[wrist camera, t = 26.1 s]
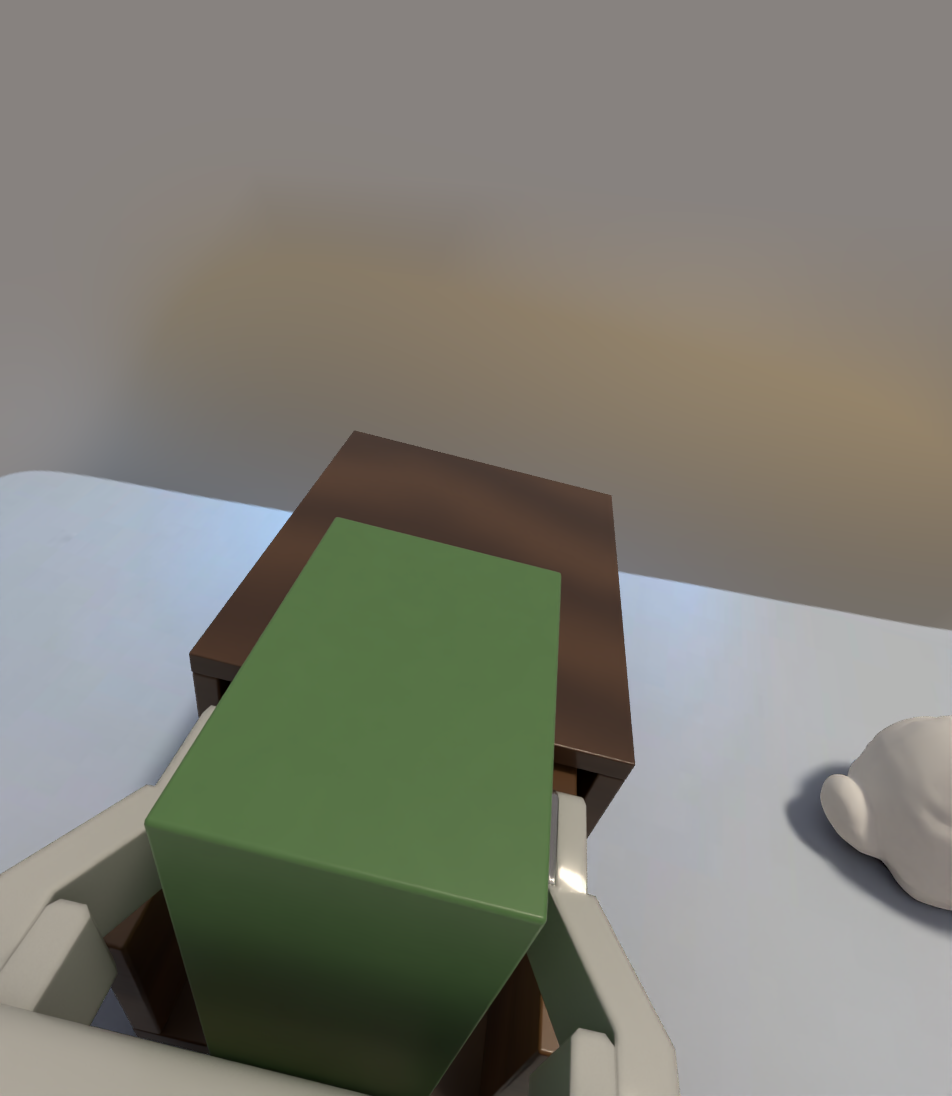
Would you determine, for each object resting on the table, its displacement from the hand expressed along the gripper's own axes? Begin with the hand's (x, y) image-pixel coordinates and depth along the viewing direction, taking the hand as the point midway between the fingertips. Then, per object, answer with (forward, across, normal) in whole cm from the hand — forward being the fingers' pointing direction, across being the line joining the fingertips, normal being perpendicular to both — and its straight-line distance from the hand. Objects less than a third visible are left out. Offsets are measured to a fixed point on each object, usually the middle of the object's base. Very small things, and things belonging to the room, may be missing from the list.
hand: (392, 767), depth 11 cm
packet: (-1, 0, +5) cm, 5 cm away
